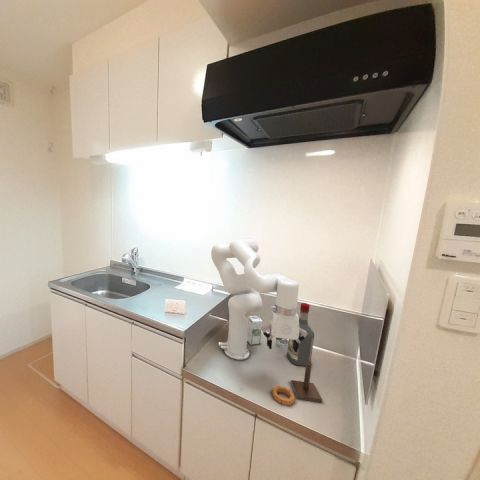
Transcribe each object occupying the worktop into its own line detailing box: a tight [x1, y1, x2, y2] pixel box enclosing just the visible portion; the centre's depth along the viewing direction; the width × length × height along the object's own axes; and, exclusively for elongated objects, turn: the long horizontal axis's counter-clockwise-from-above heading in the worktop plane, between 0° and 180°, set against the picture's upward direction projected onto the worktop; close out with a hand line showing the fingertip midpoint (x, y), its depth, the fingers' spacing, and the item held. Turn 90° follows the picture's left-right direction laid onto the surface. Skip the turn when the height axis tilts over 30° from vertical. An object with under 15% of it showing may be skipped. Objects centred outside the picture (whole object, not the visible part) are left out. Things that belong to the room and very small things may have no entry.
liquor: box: [286, 302, 315, 367], centre depth 124 cm, size 9×9×30 cm
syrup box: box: [247, 315, 263, 346], centre depth 141 cm, size 6×6×14 cm
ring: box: [272, 385, 296, 406], centre depth 104 cm, size 8×8×2 cm
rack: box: [290, 362, 323, 403], centre depth 105 cm, size 9×9×14 cm
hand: (282, 348), depth 104 cm, fingers open, 9 cm apart
